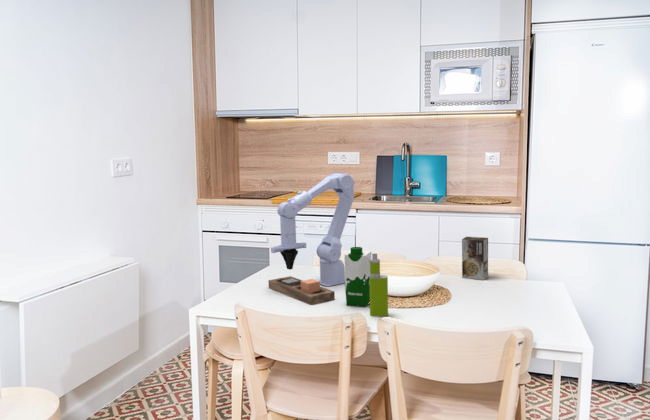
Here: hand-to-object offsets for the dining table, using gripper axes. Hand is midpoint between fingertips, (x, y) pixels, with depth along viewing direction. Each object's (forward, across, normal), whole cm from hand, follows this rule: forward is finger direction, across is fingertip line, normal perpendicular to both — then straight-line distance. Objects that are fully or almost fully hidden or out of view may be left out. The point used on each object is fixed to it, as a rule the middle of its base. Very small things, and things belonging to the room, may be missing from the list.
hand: (289, 268), depth 215 cm
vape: (+8, -6, +45) cm, 46 cm away
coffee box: (+9, -67, +33) cm, 75 cm away
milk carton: (+8, -9, +31) cm, 33 cm away
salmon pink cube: (+6, 0, +14) cm, 15 cm away
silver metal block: (+8, 0, 0) cm, 8 cm away
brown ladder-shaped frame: (+8, 0, +7) cm, 11 cm away
